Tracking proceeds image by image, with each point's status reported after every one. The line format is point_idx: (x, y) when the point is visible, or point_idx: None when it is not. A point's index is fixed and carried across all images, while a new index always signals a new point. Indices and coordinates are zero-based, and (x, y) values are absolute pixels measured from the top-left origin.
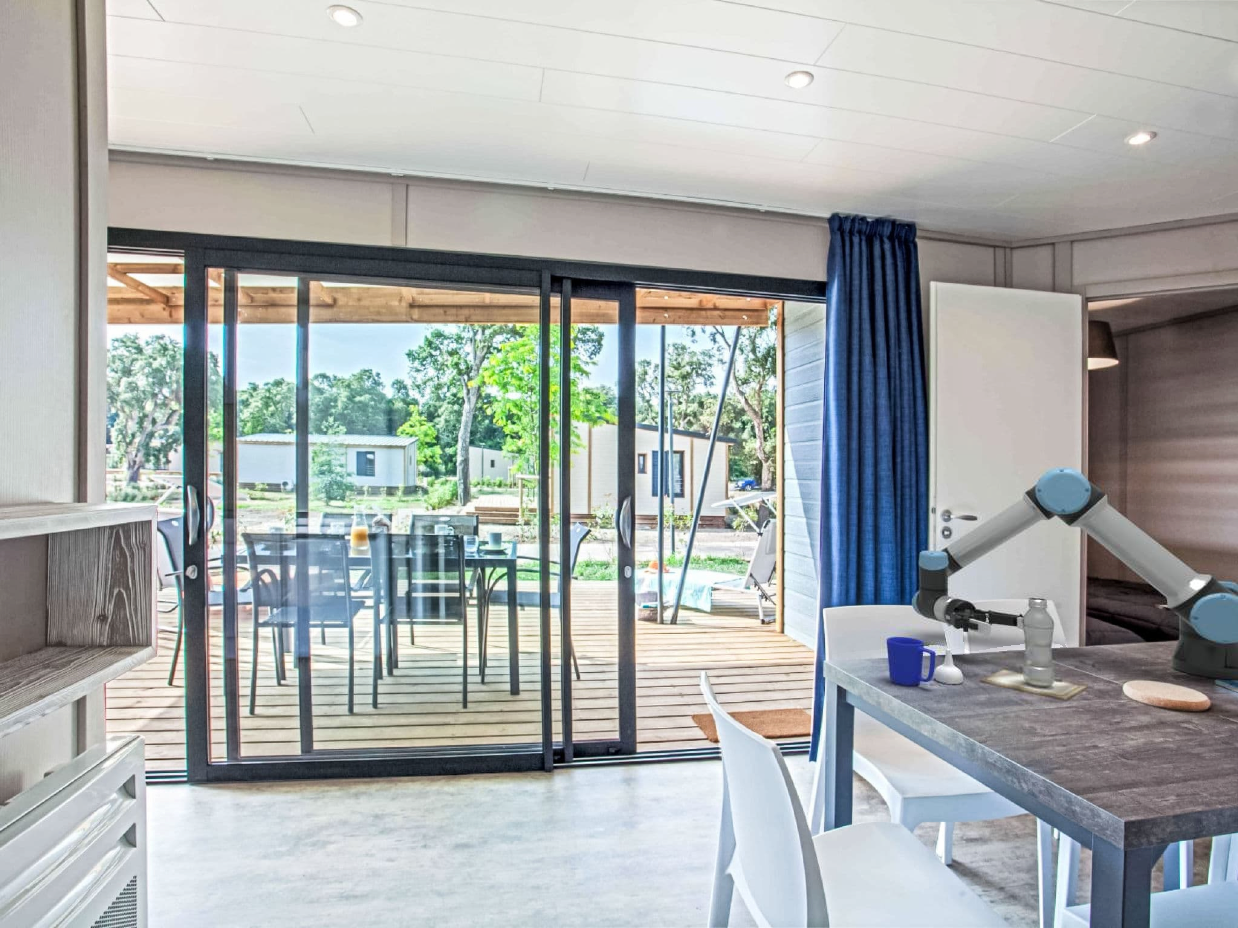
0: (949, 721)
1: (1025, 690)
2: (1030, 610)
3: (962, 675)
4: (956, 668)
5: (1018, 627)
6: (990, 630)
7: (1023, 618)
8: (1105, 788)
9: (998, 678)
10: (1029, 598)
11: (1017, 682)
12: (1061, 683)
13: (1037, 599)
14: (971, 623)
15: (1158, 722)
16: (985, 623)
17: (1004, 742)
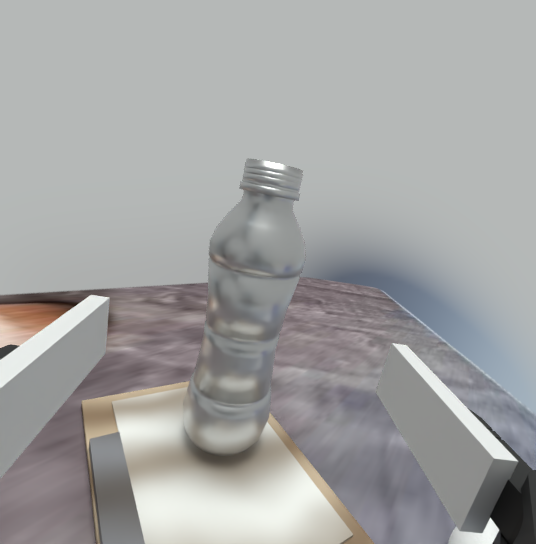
0: (481, 379)
1: (280, 429)
2: (293, 214)
3: (455, 531)
4: (488, 525)
5: (6, 466)
6: (383, 371)
7: (303, 251)
8: (368, 296)
9: (297, 530)
10: (293, 169)
11: (261, 471)
12: (131, 428)
13: (256, 166)
14: (488, 426)
15: (191, 310)
16: (413, 356)
17: (419, 337)
